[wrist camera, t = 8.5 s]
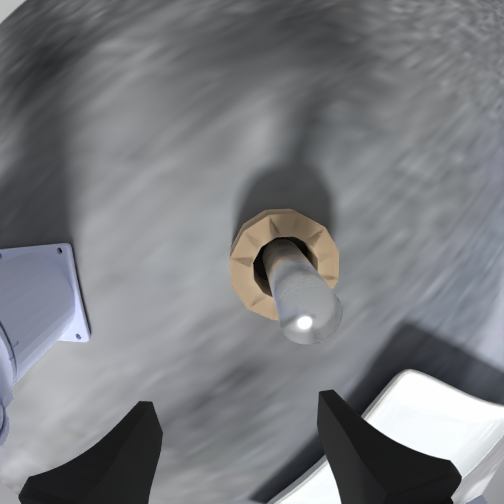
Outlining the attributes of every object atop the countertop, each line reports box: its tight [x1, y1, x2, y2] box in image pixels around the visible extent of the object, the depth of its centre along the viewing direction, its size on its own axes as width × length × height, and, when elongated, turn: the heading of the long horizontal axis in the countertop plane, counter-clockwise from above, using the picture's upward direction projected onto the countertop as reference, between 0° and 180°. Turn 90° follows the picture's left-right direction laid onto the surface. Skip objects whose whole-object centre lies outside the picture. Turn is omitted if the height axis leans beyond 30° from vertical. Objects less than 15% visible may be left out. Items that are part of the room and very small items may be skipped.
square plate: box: [266, 369, 504, 504], centre depth 26 cm, size 27×27×4 cm
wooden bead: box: [230, 209, 339, 320], centre depth 20 cm, size 6×6×3 cm
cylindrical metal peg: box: [263, 239, 342, 345], centre depth 16 cm, size 2×2×10 cm
